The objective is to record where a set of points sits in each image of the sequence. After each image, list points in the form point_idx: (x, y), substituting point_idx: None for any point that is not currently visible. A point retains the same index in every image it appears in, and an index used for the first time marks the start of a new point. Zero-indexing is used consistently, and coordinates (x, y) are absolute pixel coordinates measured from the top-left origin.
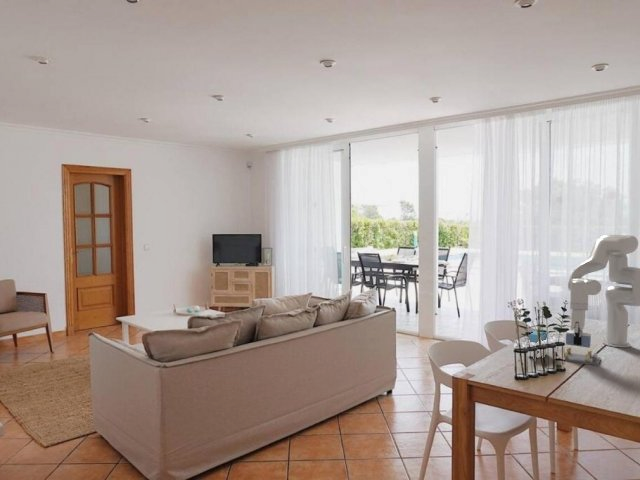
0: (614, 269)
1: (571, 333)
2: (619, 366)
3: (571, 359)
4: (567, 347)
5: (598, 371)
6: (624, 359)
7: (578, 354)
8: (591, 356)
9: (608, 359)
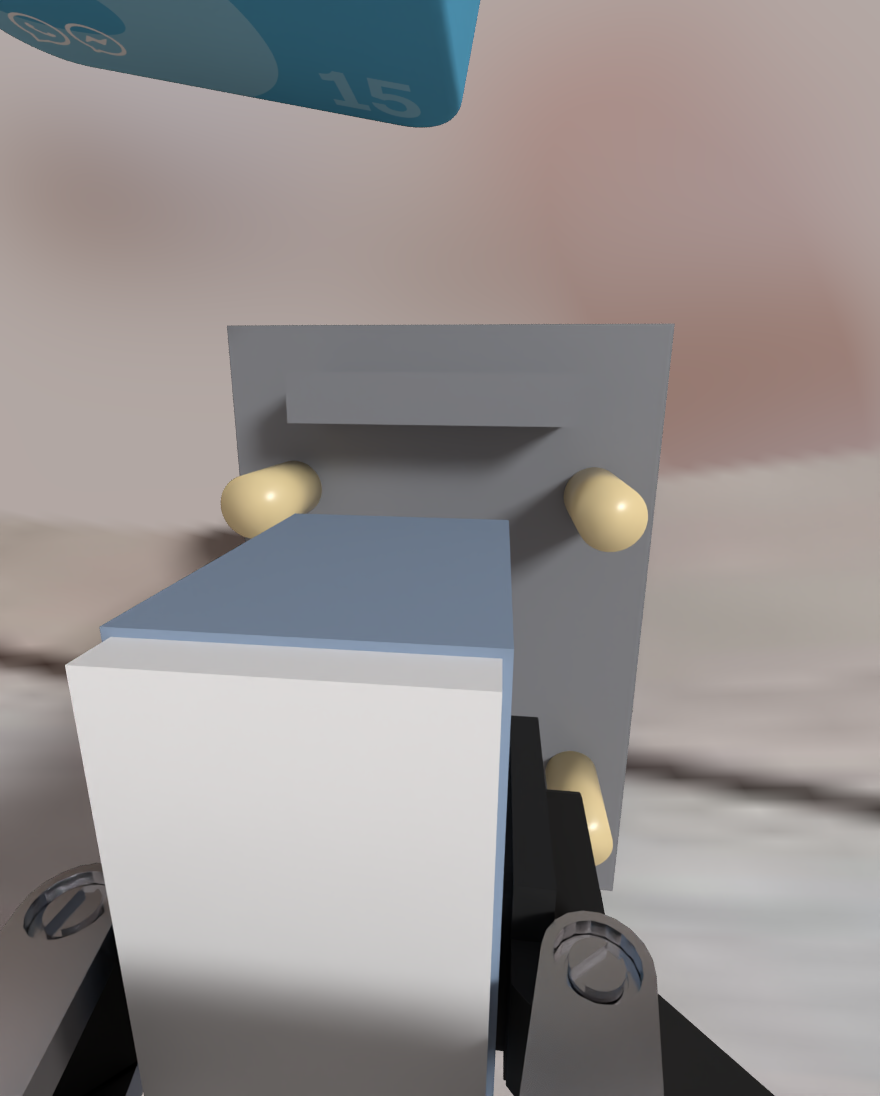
0: None
1: (125, 845)
2: None
3: None
4: (608, 488)
5: (78, 838)
6: (768, 1079)
7: (618, 632)
8: None
9: (667, 939)
